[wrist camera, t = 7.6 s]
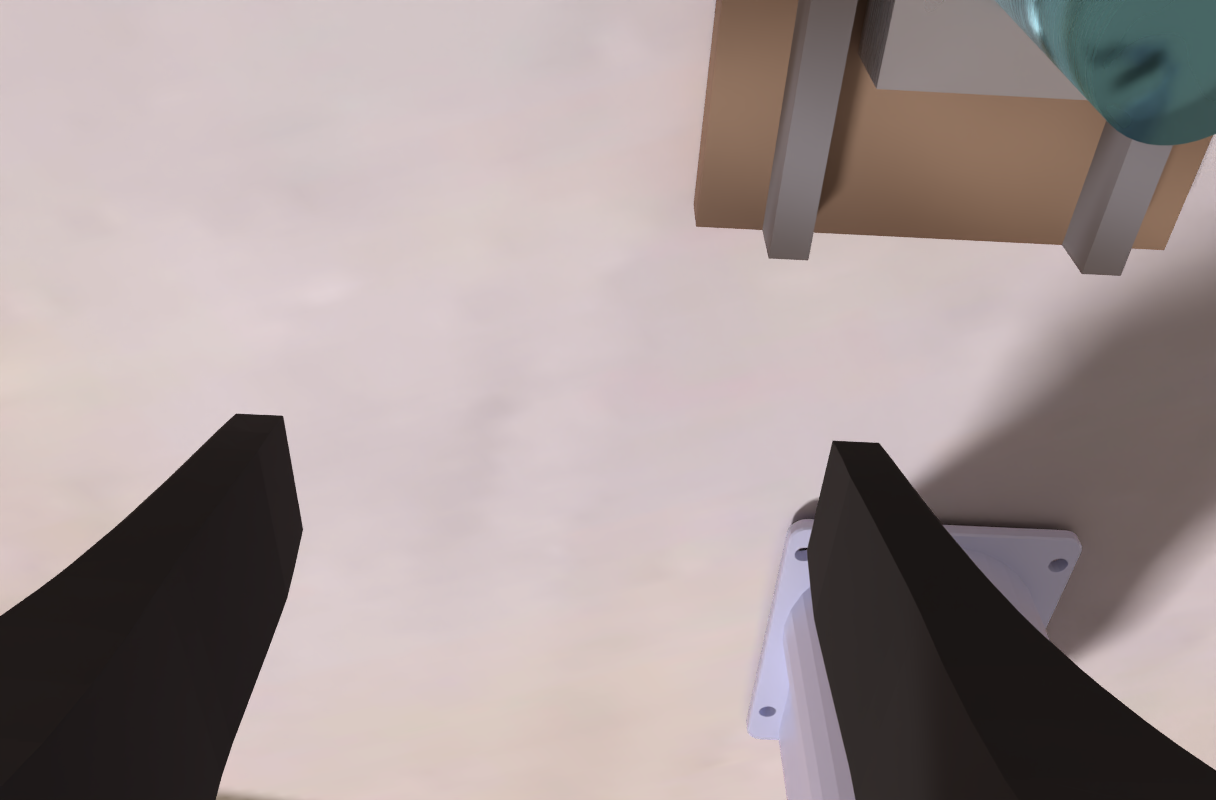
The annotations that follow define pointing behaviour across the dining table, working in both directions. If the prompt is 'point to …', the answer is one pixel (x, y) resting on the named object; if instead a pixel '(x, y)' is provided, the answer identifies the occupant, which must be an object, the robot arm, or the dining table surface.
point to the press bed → (912, 151)
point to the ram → (1057, 56)
